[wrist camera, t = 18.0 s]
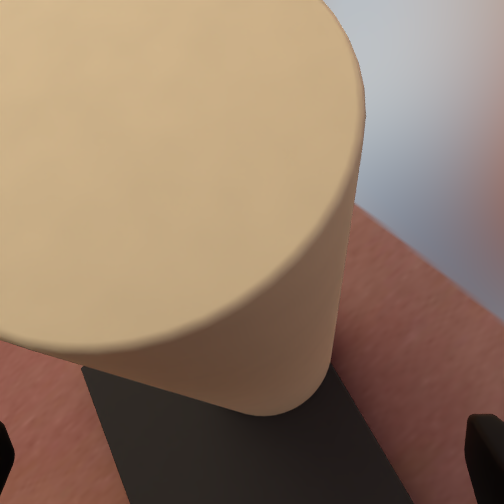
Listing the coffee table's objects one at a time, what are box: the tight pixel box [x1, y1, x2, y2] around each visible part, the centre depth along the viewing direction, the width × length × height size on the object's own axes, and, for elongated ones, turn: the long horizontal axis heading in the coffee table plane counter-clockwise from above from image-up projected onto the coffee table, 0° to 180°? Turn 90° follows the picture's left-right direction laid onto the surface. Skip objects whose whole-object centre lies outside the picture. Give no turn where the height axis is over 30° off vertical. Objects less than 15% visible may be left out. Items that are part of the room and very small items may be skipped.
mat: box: [81, 362, 414, 504], centre depth 16 cm, size 10×8×1 cm
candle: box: [0, 0, 366, 416], centre depth 11 cm, size 5×5×13 cm
